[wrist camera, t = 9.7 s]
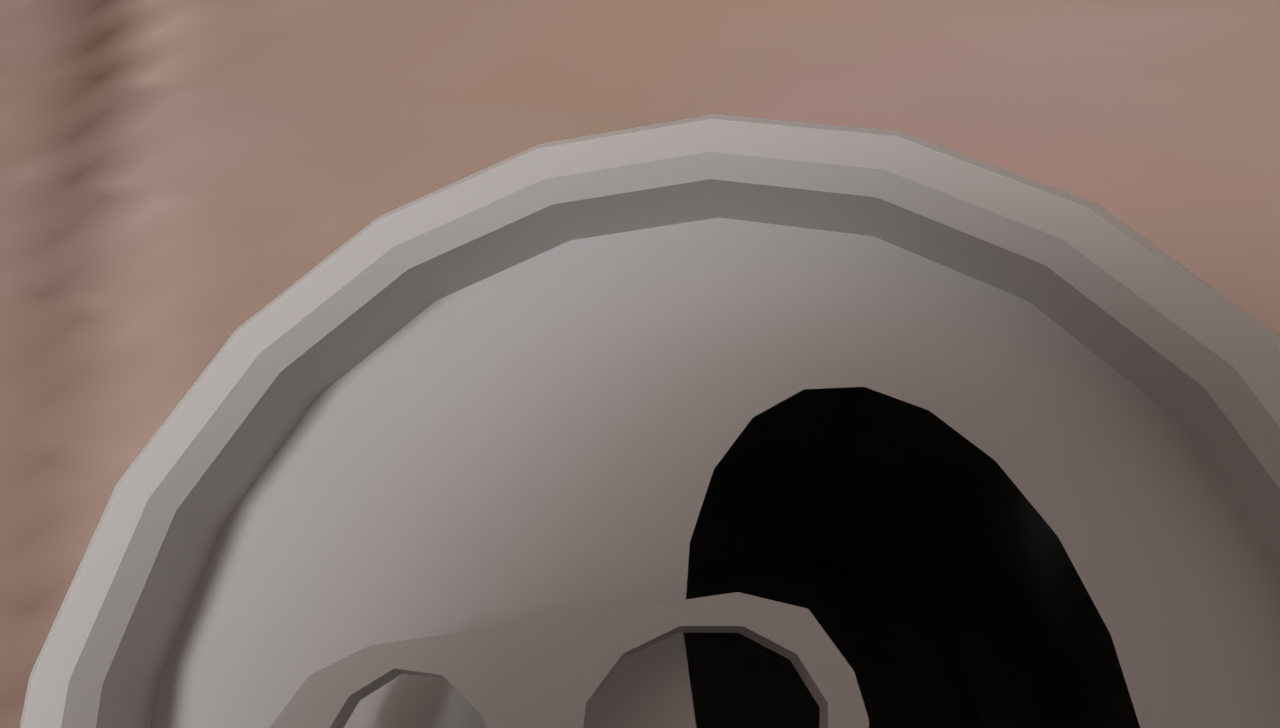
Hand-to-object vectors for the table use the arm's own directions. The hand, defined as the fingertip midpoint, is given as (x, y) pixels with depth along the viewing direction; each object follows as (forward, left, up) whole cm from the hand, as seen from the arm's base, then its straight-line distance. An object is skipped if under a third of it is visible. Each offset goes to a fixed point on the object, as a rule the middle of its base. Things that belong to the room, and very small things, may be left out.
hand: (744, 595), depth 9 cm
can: (-1, -1, -7) cm, 7 cm away
